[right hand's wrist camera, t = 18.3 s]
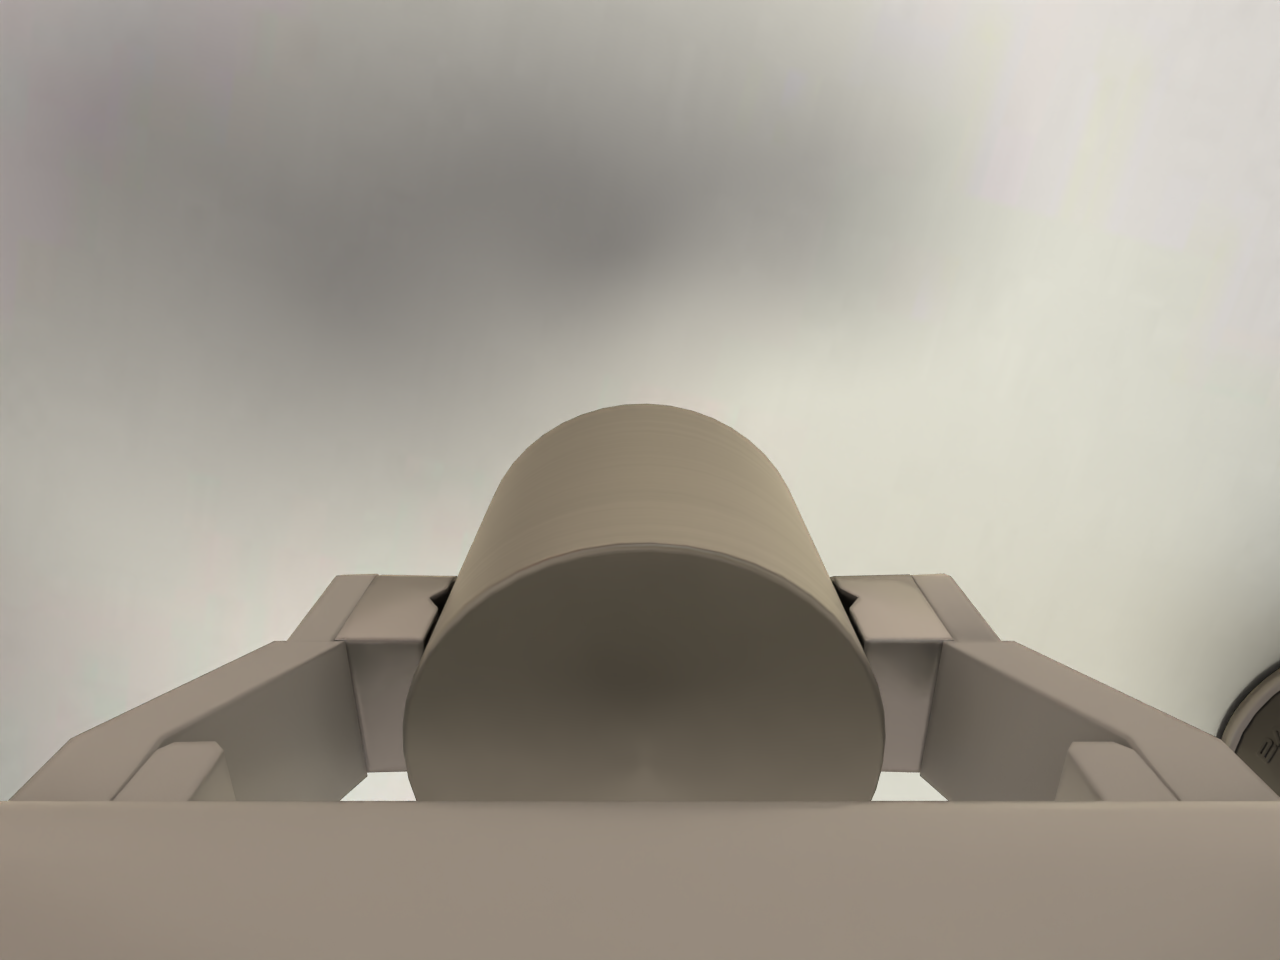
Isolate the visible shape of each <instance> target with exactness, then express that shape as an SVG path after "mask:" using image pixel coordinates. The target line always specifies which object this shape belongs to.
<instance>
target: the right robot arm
mask: <svg viewBox="0 0 1280 960" xmlns="http://www.w3.org/2000/svg"><path fill="white" fill-rule="evenodd" d="M456 579H457V576H429V575H378V574H350V575H338V576H336V577H335V578H334V579H333V581H332V582H331V583H330V584H329V586H328V587H327V588H326V590H325V591H324V592H323V594H322V595H321V596H320V598H319V599H318V600H317V602H316V603H315V604H314V606H313V607H312V608H311V610H310V611H309V612H308V614H307V615H306V616H305V618H304V619H303V620H302V621H301V623H300V624H299V625H298V627H297V628H296V629H295V631H294V632H293V633H292V635H291V636H290V637H289V639H288V640H287V641H273V642H271V643H269V644H267V645H265V646H263V647H261V648H259V649H257V650H255V651H253V652H250V653H248V654H246V655H244V656H242V657H240V658H238V659H236V660H234V661H232V662H230V663H227V664H225V665H223V666H221V667H219V668H217V669H215V670H213V671H211V672H209V673H207V674H204V675H202V676H200V677H198V678H196V679H194V680H192V681H190V682H188V683H186V684H184V685H181V686H179V687H177V688H175V689H173V690H171V691H169V692H167V693H165V694H163V695H161V696H158V697H156V698H154V699H152V700H150V701H148V702H146V703H144V704H142V705H140V706H138V707H135V708H133V709H131V710H129V711H127V712H125V713H123V714H121V715H119V716H117V717H115V718H112V719H110V720H108V721H106V722H104V723H102V724H100V725H98V726H96V727H94V728H92V729H89V730H87V731H85V732H83V733H81V734H79V735H77V736H75V737H73V738H71V739H70V740H69V741H68V742H67V743H66V744H65V745H64V746H63V747H62V748H61V749H60V750H59V751H58V752H57V753H56V754H55V755H54V756H53V757H52V758H51V759H50V760H49V761H48V762H47V763H46V764H45V765H44V766H43V767H42V768H41V769H40V770H39V771H38V772H37V773H36V774H35V775H34V776H33V777H32V778H31V779H30V780H29V781H28V782H27V783H26V784H25V785H24V786H23V787H22V788H21V789H20V790H19V791H18V792H17V793H16V794H14V795H13V796H12V797H11V798H10V799H9V800H8V801H0V960H1280V797H1279V796H1278V795H1277V794H1276V793H1275V792H1274V791H1273V790H1272V789H1271V788H1270V787H1269V786H1268V785H1267V784H1266V783H1265V782H1264V781H1263V780H1262V779H1260V778H1259V777H1258V776H1257V775H1256V774H1255V773H1254V772H1253V771H1252V770H1251V769H1250V768H1249V767H1248V766H1247V765H1246V764H1245V763H1244V762H1243V761H1242V760H1241V759H1240V758H1239V757H1238V756H1237V755H1236V754H1235V753H1234V752H1233V751H1232V750H1231V749H1230V748H1229V747H1228V746H1227V745H1226V744H1225V743H1224V742H1223V741H1222V740H1221V739H1219V738H1217V737H1215V736H1212V735H1210V734H1208V733H1206V732H1204V731H1202V730H1200V729H1198V728H1196V727H1193V726H1191V725H1189V724H1187V723H1185V722H1183V721H1181V720H1179V719H1177V718H1175V717H1172V716H1170V715H1168V714H1166V713H1164V712H1162V711H1160V710H1158V709H1156V708H1154V707H1151V706H1149V705H1147V704H1145V703H1143V702H1141V701H1139V700H1137V699H1135V698H1132V697H1130V696H1128V695H1126V694H1124V693H1122V692H1120V691H1118V690H1116V689H1114V688H1111V687H1109V686H1107V685H1105V684H1103V683H1101V682H1099V681H1097V680H1095V679H1093V678H1090V677H1088V676H1086V675H1084V674H1082V673H1080V672H1078V671H1076V670H1074V669H1071V668H1069V667H1067V666H1065V665H1063V664H1061V663H1059V662H1057V661H1055V660H1053V659H1050V658H1048V657H1046V656H1044V655H1042V654H1040V653H1038V652H1036V651H1034V650H1032V649H1029V648H1027V647H1025V646H1023V645H1021V644H1019V643H1017V642H1015V641H1001V640H1000V639H999V637H998V636H997V635H996V634H995V632H994V631H993V630H992V628H991V627H990V626H989V625H988V623H987V622H986V621H985V619H984V618H983V617H982V616H981V614H980V613H979V612H978V610H977V609H976V608H975V607H974V605H973V604H972V603H971V601H970V600H969V599H968V598H967V596H966V595H965V594H964V592H963V591H962V590H961V589H960V587H959V586H958V585H957V583H956V582H955V581H954V580H953V578H952V577H951V576H948V575H946V574H923V575H910V574H907V575H865V576H833V577H830V579H831V582H832V584H833V586H834V588H835V590H836V592H837V594H838V597H839V599H840V601H841V603H842V605H843V607H844V610H845V612H846V614H847V616H848V618H849V620H850V623H851V625H852V627H853V629H854V631H855V633H856V635H857V638H858V640H859V642H860V644H861V646H862V648H863V651H864V653H865V655H866V657H867V659H868V662H869V664H870V666H871V669H872V671H873V674H874V676H875V678H876V681H877V683H878V686H879V690H880V695H881V699H882V703H883V708H884V716H885V732H886V739H885V749H884V759H883V765H882V769H881V771H885V772H920V776H921V777H922V778H923V779H924V780H926V781H927V782H928V783H929V784H930V785H931V786H932V787H933V788H935V789H936V790H937V791H938V792H939V793H940V794H941V795H943V796H944V797H945V798H946V799H947V800H948V801H340V800H341V799H342V798H343V797H344V796H345V795H347V794H348V793H349V792H350V791H351V790H352V789H353V788H355V787H356V786H357V785H358V784H359V783H360V782H361V781H362V780H364V779H365V778H366V777H367V772H401V771H407V768H406V762H405V757H404V752H403V719H404V711H405V704H406V699H407V695H408V692H409V689H410V686H411V683H412V679H413V676H414V673H415V671H416V669H417V667H418V664H419V662H420V660H421V658H422V655H423V653H424V651H425V649H426V646H427V644H428V642H429V640H430V638H431V635H432V633H433V631H434V629H435V626H436V624H437V622H438V620H439V617H440V615H441V613H442V611H443V608H444V606H445V604H446V602H447V599H448V597H449V595H450V593H451V590H452V588H453V586H454V584H455V581H456Z"/></svg>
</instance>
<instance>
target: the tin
mask: <svg viewBox="0 0 1280 960" xmlns="http://www.w3.org/2000/svg"><path fill="white" fill-rule="evenodd" d="M885 739H886V732H885V716H884V708H883V703H882V699H881V695H880V690H879V686H878V683H877V681H876V678H875V676H874V674H873V671H872V669H871V666H870V664H869V662H868V659H867V657H866V655H865V653H864V651H863V648H862V646H861V644H860V642H859V640H858V638H857V635H856V633H855V631H854V629H853V627H852V625H851V623H850V620H849V618H848V616H847V614H846V612H845V610H844V607H843V605H842V603H841V601H840V599H839V597H838V594H837V592H836V590H835V588H834V586H833V584H832V582H831V579H830V577H829V575H828V573H827V571H826V569H825V566H824V564H823V562H822V560H821V558H820V556H819V553H818V551H817V549H816V547H815V545H814V543H813V540H812V538H811V536H810V534H809V532H808V530H807V528H806V525H805V523H804V521H803V519H802V517H801V515H800V512H799V510H798V508H797V506H796V504H795V502H794V499H793V497H792V495H791V493H790V491H789V489H788V487H787V485H786V483H785V482H784V480H783V478H782V477H781V475H780V473H779V472H778V470H777V469H776V468H775V466H774V465H773V464H772V463H771V461H770V460H769V459H768V458H767V457H766V455H765V454H764V453H763V452H762V451H761V450H759V449H758V448H757V447H756V446H755V445H754V444H753V443H752V442H751V441H750V440H748V439H747V438H746V437H744V436H743V435H741V434H740V433H738V432H737V431H735V430H734V429H733V428H731V427H729V426H727V425H725V424H723V423H721V422H719V421H717V420H715V419H713V418H711V417H708V416H706V415H703V414H700V413H697V412H694V411H692V410H687V409H682V408H678V407H673V406H667V405H656V404H626V405H619V406H613V407H607V408H602V409H599V410H595V411H592V412H589V413H585V414H582V415H580V416H577V417H575V418H573V419H571V420H568V421H566V422H564V423H562V424H560V425H558V426H557V427H555V428H554V429H552V430H550V431H549V432H547V433H545V434H544V435H542V436H541V437H540V438H539V439H538V440H536V441H535V442H534V443H533V444H531V445H530V446H529V447H528V448H527V449H526V450H525V451H524V452H523V453H522V454H521V455H520V456H519V457H518V458H517V460H516V461H515V462H514V463H513V464H512V466H511V467H510V468H509V470H508V471H507V473H506V474H505V476H504V477H503V479H502V480H501V482H500V484H499V486H498V488H497V490H496V492H495V494H494V496H493V498H492V501H491V503H490V505H489V507H488V510H487V512H486V514H485V516H484V519H483V521H482V523H481V525H480V527H479V530H478V532H477V534H476V536H475V539H474V541H473V543H472V545H471V548H470V550H469V552H468V554H467V557H466V559H465V561H464V563H463V566H462V568H461V570H460V572H459V575H458V577H457V579H456V581H455V584H454V586H453V588H452V590H451V593H450V595H449V597H448V599H447V602H446V604H445V606H444V608H443V611H442V613H441V615H440V617H439V620H438V622H437V624H436V626H435V629H434V631H433V633H432V635H431V638H430V640H429V642H428V644H427V646H426V649H425V651H424V653H423V655H422V658H421V660H420V662H419V664H418V667H417V669H416V671H415V673H414V676H413V679H412V683H411V686H410V689H409V692H408V695H407V699H406V704H405V711H404V719H403V752H404V757H405V762H406V768H407V773H408V778H409V781H410V784H411V787H412V790H413V792H414V795H415V798H416V801H871V800H872V797H873V795H874V793H875V791H876V788H877V784H878V780H879V776H880V773H881V769H882V765H883V759H884V749H885Z"/></svg>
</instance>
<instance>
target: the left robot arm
mask: <svg viewBox="0 0 1280 960" xmlns="http://www.w3.org/2000/svg"><path fill="white" fill-rule="evenodd" d="M1221 740H1222V741H1223V742H1224V743H1225V744H1226V745H1227V746H1228V747H1229V748H1230V749H1231V750H1232V751H1233V752H1234V753H1235V754H1236V755H1237V756H1238V757H1239V758H1240V759H1241V760H1242V761H1243V762H1244V763H1245V764H1246V765H1247V766H1248V767H1249V768H1250V769H1251V770H1252V771H1253V772H1254V773H1255V774H1256V775H1257V776H1258V777H1259V778H1260V779H1262V780H1263V781H1264V782H1265V783H1266V784H1267V785H1268V786H1269V787H1270V788H1271V789H1272V790H1273V791H1274V792H1275V793H1276V794H1277V795H1278V796H1279V797H1280V668H1279V669H1278V670H1276V671H1275V672H1274V673H1272V674H1271V675H1269V676H1268V677H1267V678H1266V679H1264V680H1263V681H1262V682H1261V683H1260V684H1258V685H1257V686H1256V687H1255V688H1254V689H1253V690H1252V691H1251V692H1250V693H1249V694H1248V695H1247V697H1246V698H1245V699H1244V700H1243V701H1242V702H1241V704H1240V705H1239V706H1238V708H1237V709H1236V710H1235V712H1234V713H1233V715H1232V717H1231V718H1230V720H1229V722H1228V724H1227V726H1226V728H1225V730H1224V733H1223V735H1222V739H1221Z"/></svg>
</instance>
